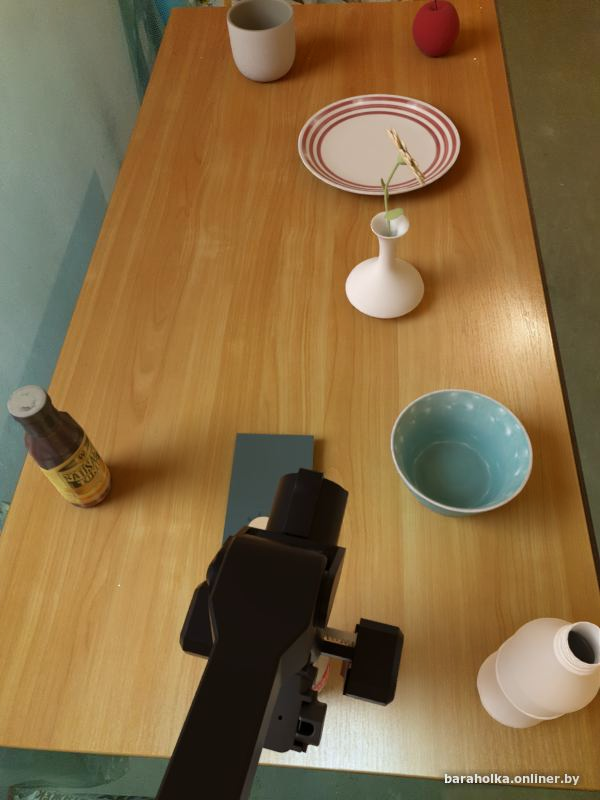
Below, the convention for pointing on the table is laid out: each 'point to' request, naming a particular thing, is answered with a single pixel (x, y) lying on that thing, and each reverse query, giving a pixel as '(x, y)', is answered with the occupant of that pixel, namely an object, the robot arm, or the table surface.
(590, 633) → the water bottle
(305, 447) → the teal rectangular base
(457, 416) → the bowl
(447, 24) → the apple
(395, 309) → the flower in vase
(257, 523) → the beige round cap
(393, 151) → the dinner plate
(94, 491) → the sauce bottle
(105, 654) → the table surface
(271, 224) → the table surface
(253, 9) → the planter
